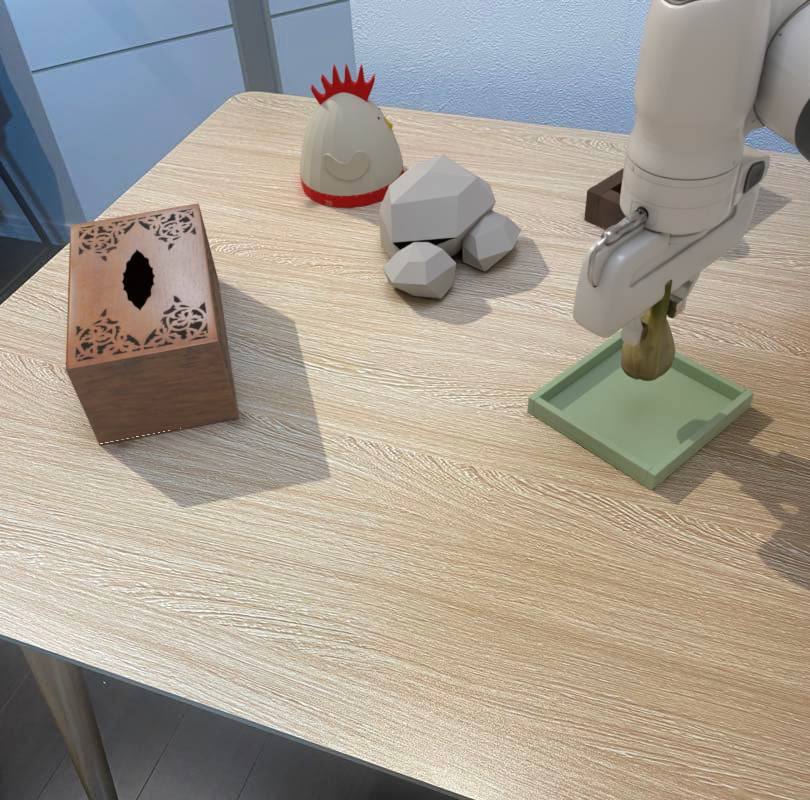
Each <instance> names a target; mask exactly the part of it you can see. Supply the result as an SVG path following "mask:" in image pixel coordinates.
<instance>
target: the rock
mask: <svg viewBox="0 0 810 800" xmlns="http://www.w3.org/2000/svg"><path fill="white" fill-rule="evenodd" d="M496 203H497V201H496V198H495V194H494V192H493V189H492V186H491V183H490V182H488V181H486V180H485V179H484V178H481V177H480V176H479V175H477V174H475V173H474V172H472V171H470V170H468V169H467V168H465V167H463V166H462V165H460V164H459V163H457V162H456V161H454V160H453V159H452V158H450V157H449V156H447V155H446V154H444V153H441V154H439V155H437V156H435V157H431V158H429V159H426V160H423V161H420V162H419V163H416V164H413V165H411V166H410V167H409V168H408V169H406V171H404V173H403V174H402V175H401V176H400V177H399V178H398V179H396V180H395V181H394V182H393V183H392V184H391V185H389V187H388V190H387V192H386V194H385V197H384V199H383V200H382V201H381V203H380V206H379V209H378V217H379V218H378V219H379V232H380V233H379V234H380V246H381V248H382V249H383V250H384V251H385V253H386V254H387V256H388V257H389V258H390V259H389V260H388V261H387V262H386V263H385V264H384V265H383V266H382V268H381V269H382V270H383V273H384V275H385V278H386V280H387V282H388V284H389V285H390V286H392V287H394V288H396V289H398V290H399V291H403V292H405V293H406V294H409V295H411V296H414V297H420V298H421V297H422V298H431V299H441V300H442V298H443V297H444V296H445V295H446V294H447V293H448V291H449V290H450V289H451V288H452V287H453V286H454V284H455V276H456V268H457V262H456V261H455V260H454V259H453V258H452V257H454V256H455V255H457V254H458V253H459V252H460V251H461V250H462V262H463V263H465V264H467V265H469V266H471V267H474V268H475V269H478V270H480V271H482V272H484V273H485V272H486V271H488V270H489V269H490V268H491V267H492V266H494V265H495V264H496V263H498V261H500V260H501V259H502V258H503V257H505V256H506V255H507V254H508V253H510V252H511V251H512V250H513V248H514V247H515V244H516V243H517V240H518V238H519V236H520V233H521V232H522V229H521V228H520V227H519V226H518V225H517V224H516V223H515V222H514V221H513V220H512V219H510V218H509V216H507V215H505V214H503V213H500V212H497V211H494V210H493V209H494V207H495V205H496Z"/></svg>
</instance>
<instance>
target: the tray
mask: <svg viewBox="0 0 810 800" xmlns="http://www.w3.org/2000/svg"><path fill="white" fill-rule="evenodd" d="M621 332H622V329H620V330H619V331H617V332H616V333H615V334H613V335H612V336H610V337H609V338H608V339H607V340H606V341H604V342H603V343H602V344H600V345H598V346H597V347H596V348H595V349H593V350H592V351H591V352H589V353H587V354H586V355H584V357H582V358H581V359H579V360H578V361H576V362H575V363H573V365H571V366H570V367H568V368H567V369H566V370H564V371H563V372H561V373H559V375H557V376H556V377H554V378H553V379H551V380H550V381H548V382H547V383H546V384H545V385H543V386H542V387H540V388H539V389H538V390H536V391H535V392H533V393H532V394H530V395H529V396H528V399H527V413H529V414H530V415H532V416H534V417H535V418H537V419H538V420H540V421H542V422H543V423H545V425H548V426H549V427H551V428H553V429H554V430H556V431H557V432H559V434H560V433H561V434H562V435H563V436H565V437H567V438H569V439H570V440H571V441H573V442H575V443H576V444H578V445H579V446H581V447H583V448H584V449H585V450H587V451H588V452H591V453H592V454H593V455H595V456H597V457H598V458H600V459H601V460H603V461H604V462H607V464H609V465H611V466H612V467H614V468H616V469H617V470H619V471H621V472H623V473H624V474H625V475H627V476H628V477H630V478H631V479H633V480H634V481H636V482H638V483H639V484H641V485H642V486H644V487H645V488H647V489H649V490H650V491H653V490H654V489H655V488H656V487H658V486H659V485H660V484H661V483H662V482H664V481H665V480H666V479H667V478H668V477H670V475H672V474H673V473H674V472H675V471H677V470H678V469H679V468H681V466H682V465H684V464H685V463H686V462H687V461H688V460H690V458H692V457H693V456H694V455H696V454H697V453H698V452H699V451H700V450H701V449H702V448H703V447H705V446H707V445H708V444H709V443H710V442H711V441H712V440H713V439H714V438H715V437H717V436H718V435H720V433H722V432H723V431H724V430H725V429H726V428H728V427H729V426H730V425H731V424H732V423H733V422H734V421H736V420H737V419H738V418H739V417H741V416H742V415H743V414H744V413H745V412H747V410H749V409H750V408H751V404H752V402H753V398H754V395H755V392H754V391H752V390H750V389H748V388H746V387H744V386H742V385H740V384H738V383H737V382H735V381H733V380H730V379H729V378H728V377H725V376H723V375H721V374H720V373H718V372H716V371H714V370H712V369H711V368H708V367H707V366H704V365H703V364H701V363H699V362H697V361H696V360H693V359H691V358H690V357H687V356H686V355H684V354H682V353H680V352H678V351H677V350H675V357H674V360H673V363H672V366H671V367H670V369H669V370H668V371H667V372H666V373H665V374H664V375H662V376H660V377H658V378H657V379H655V380H652V381H643V380H640V379H638V380H636V379H633V378H631V377H629V376H627V375H626V373H625V372H624V371H623V369H622V367H621V356H622V355H621V352H622V346H623V343H624V341H623V340H622V339H621Z"/></svg>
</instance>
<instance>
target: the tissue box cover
mask: <svg viewBox="0 0 810 800" xmlns="http://www.w3.org/2000/svg"><path fill="white" fill-rule="evenodd" d="M202 214H203V213H202V210H201V206H200V203H199V202H197V203H192V204H187V205H182V206H175V207H169V208H163V209H158V210H152V211H147V212H146V211H145V212H141V213H140V212H139V213H134V214H128V215H123V216H117V217H111V218H106V219H99V220H93V221H88V222H82V223H76V224H71V225H70V227H69V253H68V254H69V257H68V287H67V315H66V317H67V318H66V345H65V346H66V349H65V350H66V351H65V371H66V374H67V376H68V378H69V380H70V383H71V385H72V387H73V390H74V391H75V394H76V396H77V398H78V401H79V404H80V405H81V407H82V409H83V412H84V413H85V416H86V419H87V421H88V423H89V425H90V427H91V429H92V432H93V434H94V436H95V438H96V441H97V443H98V445H99V446H104V445H109V444H114V443H120V442H125V441H130V440H135V439H141V438H145V437H150V436H151V437H152V436H155V435H161V434H166V433H171V432H175V431H181V430H182V431H183V430H187V429H192V428H198V427H202V426H207V425H212V424H218V423H222V422H228V421H234V420H238V419H240V415H239V408H238V401H237V394H236V389H235V387H236V386H235V382H234V375H233V368H232V361H231V356H230V355H231V354H230V347H229V342H228V336H227V328H226V321H225V316H224V309H223V302H222V296H221V288H220V282H219V277H218V273H217V269H216V266H215V261H214V258H213V254H212V250H211V245H210V242H209V238H208V234H207V230H206V226H205V222H204V218H203V215H202ZM180 428H181V429H180ZM168 430H170V431H168ZM163 431H165V432H163ZM158 432H160V433H158ZM153 433H155V434H153ZM147 434H150V435H147ZM142 435H145V436H142ZM136 436H139V437H136ZM132 437H134V438H132ZM126 438H129V439H126ZM121 439H124V440H121ZM116 440H119V441H116ZM110 441H114V442H110ZM105 442H109V443H105ZM100 443H103V444H100Z"/></svg>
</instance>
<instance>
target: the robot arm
mask: <svg viewBox="0 0 810 800" xmlns="http://www.w3.org/2000/svg"><path fill="white" fill-rule="evenodd" d="M641 35H642V36H641V40H640V46H639V51H638V56H637V63H636V70H635V77H634V87H633V102H634V107H635V119H634V120H635V121H634V124H633V126H632V130H631V131H630V133H629V136H628V139H627V142H626V147H625V148H626V149H625V156H624V163H623V168H624V171H623V179H622V187H621V194H620V207H621V210H622V212H623V213H624V215H625V216H626V217H625V218H624V219H622V220H621V221H620V222H619V223H617V224H616V225H613V226H611V227H609V228H607V229H606V230H605V229H604V231H602V233H601V235H600V237H599V238H597V239H596V240H595V241H594V242H593V243H592V244H591V245H590V246H589V248H588V250H587V252H586V253H585V256H584V258H583V261H582V264H581V267H580V271H579V276H578V280H577V284H576V290H575V295H574V300H573V308H572V318H573V319H574V321H575V323H577V324H578V326H580V327H582V328H583V329H585V330H586V331H588V332H590V333H591V334H594V335H596V336H598V337H600V338H603V339H609V338H611V337H613V336H614V335H615V334H617V333H618V332H620V331H621V330H622V332H621V339H622V340H623V341H624V342H625V343H627V344H629V345H631V346H633V347H634V346H636V345H638V344H639V343H640V342H641V341H643V340H644V339H645V338H646V335H647V334H646V333H647V331H648V326H649V325H648V324H646V323H644V322H641V320H640V317H641V318H642V317H643V316H644V315H645V311H646V310H648V309H649V308H651V307H652V306H653V305H655V304H656V303H658V302H659V301H660V300H662V299H663V297H664V294H665V285H666V284H667V283H668V282H669V281H670V280H671V279H672V287H671V293H670V298H669V304H668V311H667V317H668V318H669V319H674V318H676V317H677V316H679V315H680V314H682V312H684V311H685V309H686V304H687V300H688V297H689V295H690V294H691V292H692V290H693V289H694V287H695V285H696V283H697V282H698V279H699V278H700V274H701V272H702V271H704V270H705V269H707V267H709V266H711V265H712V264H714V263H715V262H716V261H717V260H719V259H721V258H722V257H723V256H725V255H726V254H727V253H729V252H730V251H732V250H733V249H735V248H736V247H737V246H738V245H739V244H740V243H741V242H742V240H743V238H744V237H745V235H746V233H747V231H748V230H749V227H750V224H751V221H752V218H753V215H754V213H755V209H756V205H757V201H758V198H759V193H760V189H761V187H760V186H761V183H762V181H764V180H765V178H766V176H767V174H768V171H769V168H770V165H771V156H770V155H768V154H766V153H764V152H762V151H760V150H759V149H756V148H754V147H752V146H749V145H746V144H745V141H746V138H747V136H748V135H749V134H750V133H751V132H752V131H754V130H758V129H762V128H765V127H766V129H768V130H770V131H771V132H772V133H774V134H775V135H777V136H778V137H779V138H781V139H782V140H784V141H785V142H787V143H788V144H789V145H791V146H792V147H794V148H795V149H797V150H798V152H799V153H800V155H801V156H803V158H805V160H807V162H809V163H810V0H651V1H650V4H649V7H648V11H647V15H646V17H645V22H644V25H643V30H642V34H641Z"/></svg>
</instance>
